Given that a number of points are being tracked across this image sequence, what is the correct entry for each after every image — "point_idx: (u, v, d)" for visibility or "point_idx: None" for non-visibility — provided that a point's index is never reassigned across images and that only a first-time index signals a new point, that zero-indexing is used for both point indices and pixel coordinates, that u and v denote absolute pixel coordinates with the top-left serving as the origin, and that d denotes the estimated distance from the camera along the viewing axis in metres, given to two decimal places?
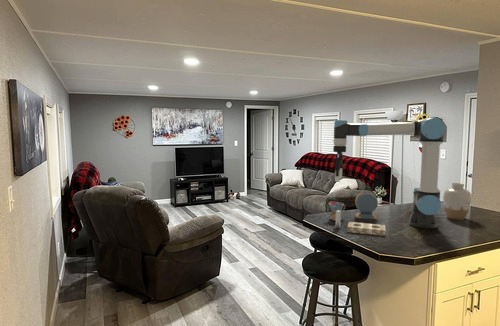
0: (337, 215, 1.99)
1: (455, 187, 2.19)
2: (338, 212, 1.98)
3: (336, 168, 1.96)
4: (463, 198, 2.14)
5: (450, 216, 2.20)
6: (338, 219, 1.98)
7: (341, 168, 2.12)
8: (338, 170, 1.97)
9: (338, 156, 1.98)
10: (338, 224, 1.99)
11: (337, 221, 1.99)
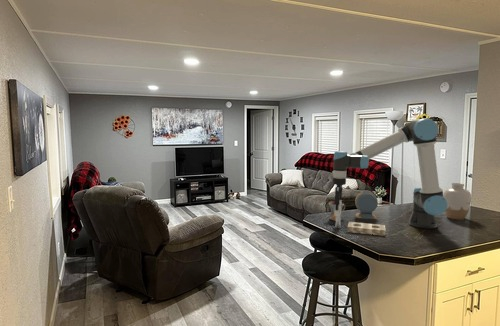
0: None
1: (455, 187, 2.19)
2: None
3: (336, 202, 1.90)
4: (463, 198, 2.14)
5: (450, 216, 2.20)
6: (338, 219, 1.98)
7: (340, 200, 2.05)
8: (338, 204, 1.90)
9: (338, 189, 1.92)
10: (338, 224, 1.99)
11: (337, 221, 1.99)
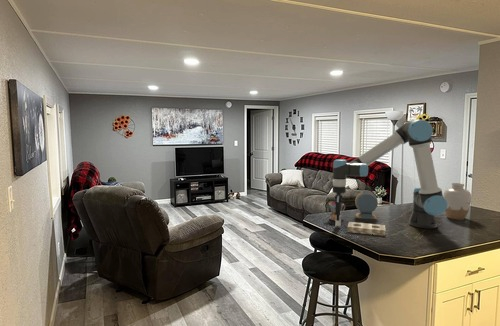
0: None
1: (455, 187, 2.19)
2: None
3: (336, 213, 1.95)
4: (463, 198, 2.14)
5: (450, 216, 2.20)
6: None
7: None
8: (339, 214, 1.96)
9: (338, 201, 1.93)
10: None
11: None
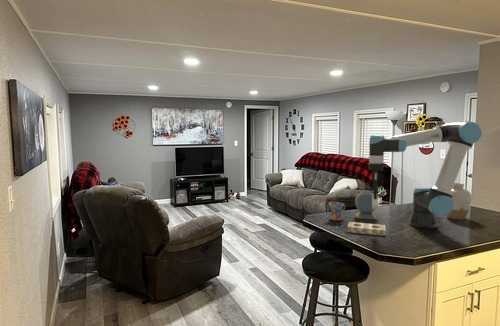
0: None
1: (455, 187, 2.19)
2: None
3: (374, 191, 1.85)
4: (463, 198, 2.14)
5: (450, 216, 2.20)
6: None
7: None
8: (376, 193, 1.86)
9: (376, 178, 1.83)
10: (375, 205, 1.89)
11: None
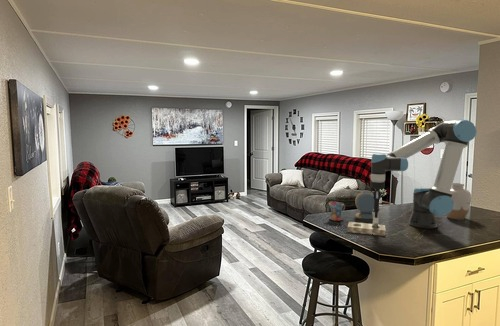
0: None
1: (455, 187, 2.19)
2: None
3: (375, 209, 1.86)
4: (463, 198, 2.14)
5: (450, 216, 2.20)
6: None
7: None
8: (377, 211, 1.86)
9: (377, 197, 1.84)
10: (376, 224, 1.89)
11: None
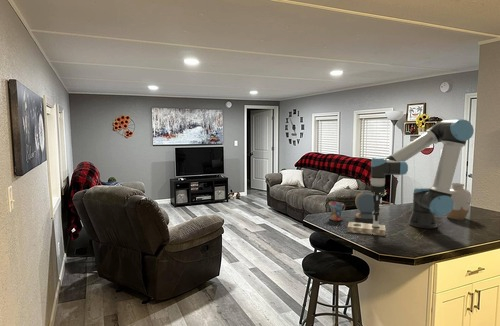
0: None
1: (455, 187, 2.19)
2: None
3: (375, 213, 1.82)
4: (463, 198, 2.14)
5: (450, 216, 2.20)
6: None
7: None
8: (377, 215, 1.83)
9: (377, 199, 1.83)
10: None
11: None
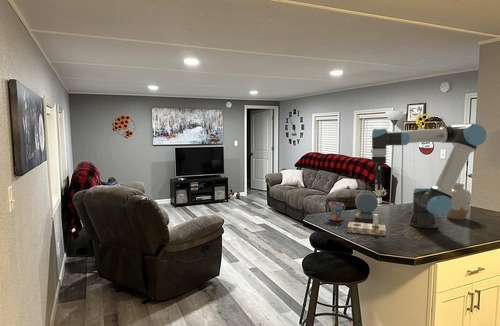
0: (375, 219, 1.89)
1: (455, 187, 2.19)
2: (376, 216, 1.89)
3: (378, 181, 1.81)
4: (463, 198, 2.14)
5: (450, 216, 2.20)
6: (376, 224, 1.89)
7: None
8: (380, 183, 1.82)
9: (379, 168, 1.83)
10: None
11: (375, 226, 1.90)
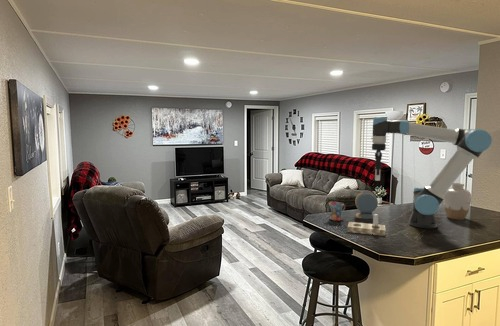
0: (375, 219, 1.90)
1: (455, 187, 2.19)
2: (376, 216, 1.89)
3: (377, 166, 1.91)
4: (463, 198, 2.14)
5: (450, 216, 2.20)
6: (376, 224, 1.89)
7: None
8: (379, 168, 1.91)
9: (378, 154, 1.93)
10: None
11: (375, 226, 1.90)
